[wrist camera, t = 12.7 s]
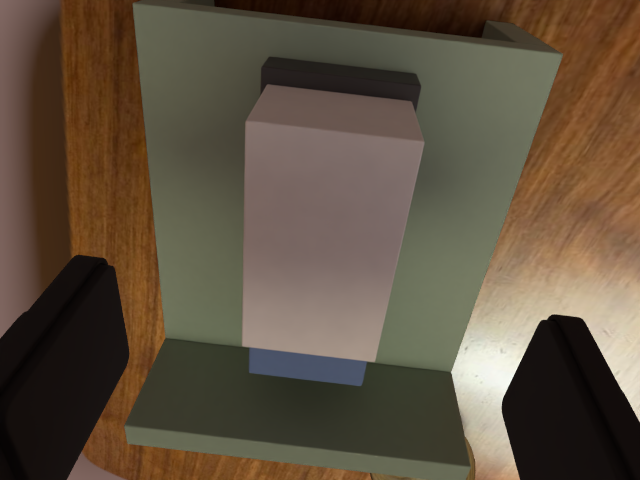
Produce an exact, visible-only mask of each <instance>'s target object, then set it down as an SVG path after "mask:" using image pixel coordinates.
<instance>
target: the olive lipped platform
mask: <svg viewBox="0 0 640 480" xmlns="http://www.w3.org/2000/svg"><path fill="white" fill-rule="evenodd" d="M133 14H134V24H135V34H136V44H137V54H138V64H139V75H140V85H141V95H142V105H143V115H144V125H145V135H146V145H147V155H148V166H149V176H150V186H151V196H152V206H153V216H154V226H155V236H156V246H157V257H158V267H159V277H160V287H161V297H162V307H163V317H164V327H165V338H166V339H165V340H164V342H163V344H162V347H161V349H160V351H159V353H158V355H157V357H156V359H155V361H154V364H153V366H152V368H151V370H150V372H149V374H148V376H147V378H146V381H145V383H144V385H143V387H142V389H141V391H140V393H139V395H138V398H137V400H136V402H135V404H134V406H133V408H132V410H131V412H130V415H129V417H128V419H127V421H126V423H125V425H124V428H125V433H126V438H127V443H128V444H135V445H143V446H152V447H160V448H168V449H177V450H185V451H193V452H202V453H210V454H218V455H227V456H235V457H243V458H252V459H260V460H268V461H277V462H285V463H294V464H302V465H310V466H319V467H327V468H335V469H344V470H352V471H360V472H369V473H377V474H385V475H394V476H402V477H410V478H419V479H427V480H466V478H467V476H468V473H469V471H470V469H471V464H470V460H469V455H468V450H467V445H466V441H465V436H464V431H463V426H462V422H461V417H460V412H459V407H458V403H457V398H456V393H455V388H454V384H453V379H452V374H451V371H452V368H453V365H454V362H455V359H456V357H457V354H458V351H459V348H460V345H461V342H462V340H463V337H464V334H465V331H466V328H467V325H468V323H469V320H470V317H471V314H472V311H473V308H474V306H475V303H476V300H477V297H478V294H479V291H480V289H481V286H482V283H483V280H484V277H485V274H486V272H487V269H488V266H489V263H490V260H491V257H492V255H493V252H494V249H495V246H496V243H497V240H498V238H499V235H500V232H501V229H502V226H503V223H504V221H505V218H506V215H507V212H508V209H509V206H510V203H511V201H512V198H513V195H514V192H515V189H516V186H517V184H518V181H519V178H520V175H521V172H522V169H523V167H524V164H525V161H526V158H527V155H528V152H529V150H530V147H531V144H532V141H533V138H534V135H535V133H536V130H537V127H538V124H539V121H540V118H541V116H542V113H543V110H544V107H545V104H546V101H547V99H548V96H549V93H550V90H551V87H552V84H553V82H554V79H555V76H556V73H557V70H558V67H559V65H560V62H561V59H562V56H563V54H562V53H560V52H559V51H557V50H555V49H554V48H552V47H551V46H549V45H547V44H546V43H544V42H543V41H541V40H539V39H538V38H536V37H534V36H533V35H531V34H529V33H528V32H526V31H524V30H523V29H521V28H520V27H518V26H516V25H515V24H513V23H504V22H496V21H486V23H485V26H484V30H483V34H482V38H474V37H466V36H458V35H449V34H441V33H432V32H424V31H415V30H407V29H398V28H390V27H382V26H373V25H365V24H356V23H348V22H339V21H331V20H322V19H314V18H305V17H297V16H289V15H280V14H272V13H263V12H255V11H246V10H238V9H229V8H221V7H215V5H214V0H141V1H138V2H135V3H133ZM268 57H279V58H287V59H296V60H304V61H312V62H321V63H329V64H338V65H346V66H355V67H363V68H372V69H380V70H389V71H397V72H406V73H414V74H417V77H418V79H419V81H420V84H421V91H420V96H419V101H418V106H417V110H416V117H417V120H418V123H419V126H420V130H421V133H422V136H423V139H424V148H423V152H422V156H421V161H420V165H419V170H418V174H417V179H416V183H415V187H414V192H413V196H412V201H411V205H410V209H409V214H408V218H407V223H406V227H405V232H404V236H403V240H402V245H401V249H400V254H399V258H398V262H397V267H396V271H395V276H394V280H393V284H392V289H391V293H390V298H389V302H388V307H387V311H386V315H385V320H384V324H383V329H382V333H381V337H380V342H379V346H378V351H377V355H376V360H375V362H369V361H367V365H366V369H365V374H364V379H363V383H362V385H361V386H355V385H346V384H338V383H330V382H321V381H313V380H304V379H296V378H288V377H279V376H271V375H262V374H254V373H249V347H243V346H242V299H243V238H244V176H245V122H246V120H247V118H248V116H249V115H250V113H251V111H252V109H253V108H254V106H255V104H256V103H257V101H258V99H259V97H260V87H261V67H262V66H263V64H264V63H265V61H266V60H267V58H268Z"/></svg>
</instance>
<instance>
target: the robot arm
mask: <svg viewBox="0 0 640 480" xmlns="http://www.w3.org/2000/svg"><path fill="white" fill-rule="evenodd" d="M128 359H129V346H128V341H127V335H126V329H125V323H124V318H123V312H122V306H121V301H120V295H119V289H118V284H117V278H116V272H115V268H114V267H113V266H110V265H108V263H107V261H106V259H104V258H99V257H91V256H83V255H76V256H74V257H73V258H72V259H71V260H70V262H69V263H68V264H67V265H66V266H65V267H64V269H63V270H62V271H61V272H60V274H59V275H58V276H57V277H56V278H55V279H54V280H53V282H52V283H51V284H50V285H49V286H48V288H47V289H46V290H45V291H44V292H43V294H42V295H41V296H40V297H39V298H38V299H37V301H36V302H35V303H34V304H33V305H32V307H31V308H30V309H29V310H28V311H27V312H24V313H23V314H22V315H21V316H20V317H19V318H18V319H17V320H16V321H15V322H14V323H13V324H12V326H11V327H10V328H9V329H8V330H7V331H6V333H5V334H4V335H3V336H2V337H1V338H0V480H67V478H68V476H69V474H70V472H71V470H72V468H73V467H74V465H75V463H76V461H77V459H78V457H79V455H80V453H81V451H82V450H83V448H84V446H85V444H86V442H87V440H88V438H89V436H90V434H91V432H92V431H93V429H94V427H95V425H96V423H97V421H98V419H99V417H100V415H101V414H102V412H103V410H104V408H105V406H106V404H107V402H108V400H109V398H110V396H111V395H112V393H113V391H114V389H115V387H116V385H117V383H118V381H119V379H120V377H121V376H122V374H123V372H124V370H125V368H126V366H127V363H128ZM502 414H503V418H504V422H505V426H506V429H507V433H508V437H509V440H510V444H511V448H512V451H513V455H514V459H515V462H516V466H517V470H518V473H519V477H520V480H640V422H639V420H638V418H637V416H636V415H635V413H634V411H633V409H632V407H631V405H630V403H629V402H628V400H627V398H626V396H625V394H624V393H623V391H622V390H621V388H620V387H619V385H618V383H617V381H616V379H615V377H614V375H613V374H612V372H611V370H610V368H609V366H608V364H607V362H606V361H605V359H604V357H603V355H602V353H601V351H600V349H599V347H598V346H597V344H596V342H595V340H594V338H593V336H592V334H591V333H590V331H589V329H588V327H587V325H586V323H585V322H584V320H583V319H581V318H579V317H571V316H563V315H555V314H554V315H551V316H550V317H549V318H548V319H547V320H542V321H540V323H539V324H538V326H537V329H536V331H535V333H534V335H533V337H532V339H531V341H530V343H529V345H528V347H527V349H526V352H525V354H524V356H523V358H522V360H521V362H520V364H519V366H518V368H517V370H516V372H515V375H514V377H513V379H512V381H511V383H510V385H509V387H508V389H507V391H506V393H505V395H504V398H503V401H502Z"/></svg>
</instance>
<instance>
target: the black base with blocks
mask: <svg viewBox="0 0 640 480" xmlns="http://www.w3.org/2000/svg"><path fill="white" fill-rule="evenodd" d="M420 91H421V84H420V81H419V79H418V77H417V74H414V73H406V72H397V71H389V70H380V69H372V68H363V67H355V66H346V65H338V64H329V63H321V62H312V61H304V60H296V59H287V58H279V57H268V58H267V60H266V61H265V63H264V64H263V66H262V67H261V87H260V97H259V99H258V101H257V103H256V104H255V106H254V108H253V109H252V111H251V113H250V115H249V116H248V118H247V120H246V122H245V176H244V238H243V299H242V346H243V347H249V373H254V374H262V375H271V376H279V377H288V378H296V379H304V380H313V381H321V382H330V383H338V384H346V385H355V386H361V385H362V383H363V379H364V374H365V369H366V365H367V361H369V362H375V360H376V355H377V351H378V346H379V342H380V337H381V333H382V329H383V324H384V320H385V315H386V311H387V307H388V302H389V298H390V293H391V289H392V284H393V280H394V276H395V271H396V267H397V262H398V258H399V254H400V249H401V245H402V240H403V236H404V232H405V227H406V223H407V218H408V214H409V209H410V205H411V201H412V196H413V192H414V187H415V183H416V179H417V174H418V170H419V165H420V161H421V156H422V152H423V148H424V139H423V136H422V133H421V130H420V126H419V123H418V120H417V117H416V110H417V106H418V101H419V96H420Z"/></svg>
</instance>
